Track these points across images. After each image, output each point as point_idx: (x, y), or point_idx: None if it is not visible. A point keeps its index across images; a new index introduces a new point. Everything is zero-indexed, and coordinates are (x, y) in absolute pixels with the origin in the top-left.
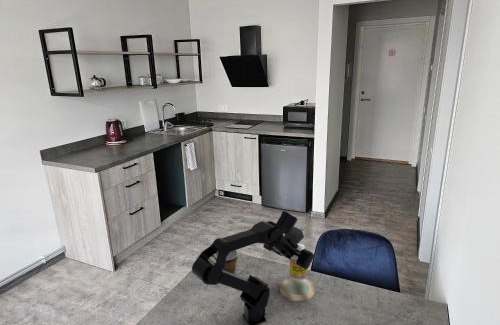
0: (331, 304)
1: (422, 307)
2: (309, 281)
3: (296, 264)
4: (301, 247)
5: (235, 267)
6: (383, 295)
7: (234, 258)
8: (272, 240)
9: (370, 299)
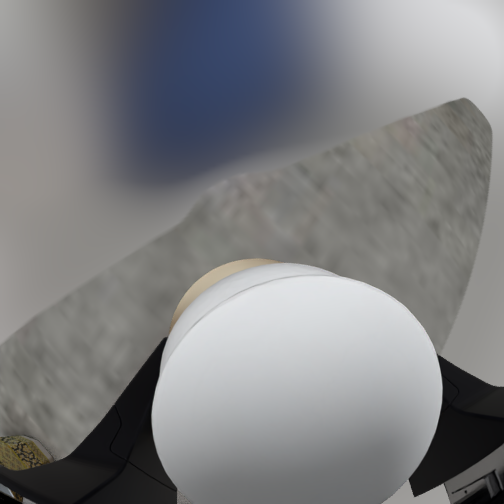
0: (401, 283)
1: (465, 115)
2: (254, 264)
3: (415, 495)
4: (387, 397)
5: (31, 461)
6: (419, 126)
7: (15, 495)
8: None
9: (425, 162)
